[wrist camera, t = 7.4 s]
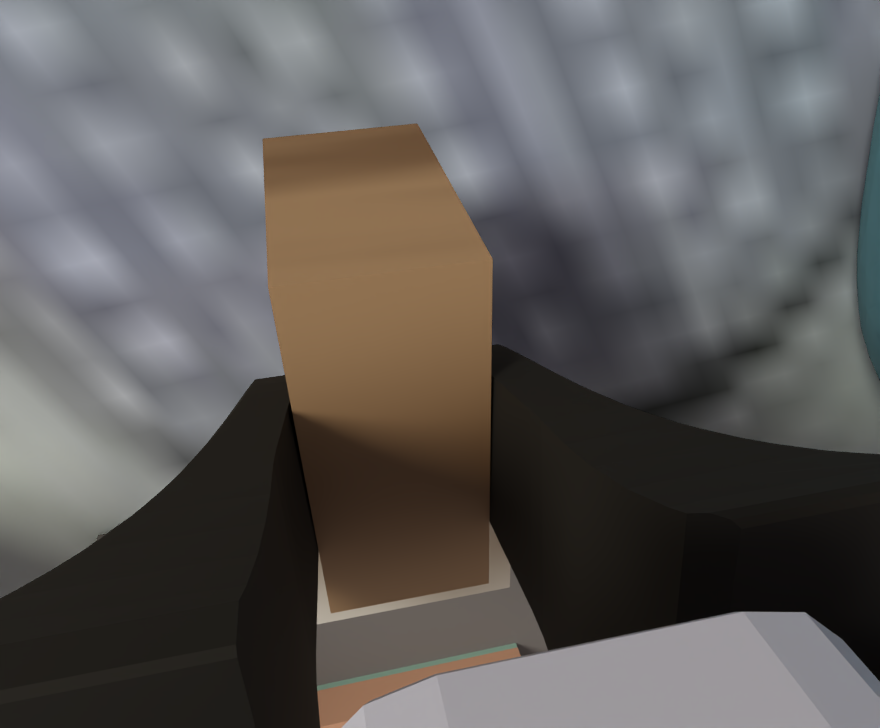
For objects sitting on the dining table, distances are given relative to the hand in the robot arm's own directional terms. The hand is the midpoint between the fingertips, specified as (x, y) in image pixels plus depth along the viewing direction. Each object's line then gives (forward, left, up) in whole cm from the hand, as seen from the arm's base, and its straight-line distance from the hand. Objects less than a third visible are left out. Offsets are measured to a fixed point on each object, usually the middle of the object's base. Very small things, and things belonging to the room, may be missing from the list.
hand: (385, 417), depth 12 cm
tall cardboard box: (0, -2, -4) cm, 4 cm away
